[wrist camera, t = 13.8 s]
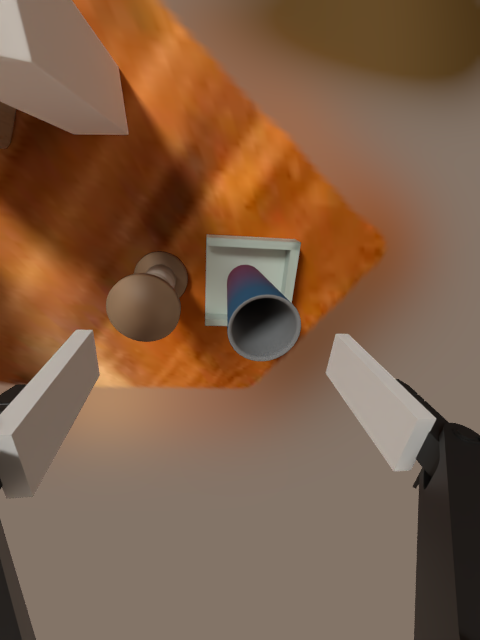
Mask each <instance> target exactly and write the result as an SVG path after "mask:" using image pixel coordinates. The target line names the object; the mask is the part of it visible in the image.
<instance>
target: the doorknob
mask: <svg viewBox="0 0 480 640" xmlns="http://www.w3.org/2000/svg"><path fill="white" fill-rule="evenodd" d="M187 282H188V274H187V270H186V268H185V266H184V264H183V263H182V262H181V261H180V260H179V259H178V258H177V257H176V256H174V255H172V254H170V253H167V252H162V251H157V252H152V253H149V254H147V255H146V256H144V257H143V258H142V259H141V260H140V261H139V262H138V264H137V265H136V267H135V271H134V274H131V275H128V276H126V277H124V278H123V279H121V280H120V281H119V282H117V283H116V284H115V285H114V287H113V288H112V289H111V290H110V292H109V294H108V297H107V300H106V311H107V315H108V317H109V320H110V321H111V323H112V324H113V326H114V327H115V328H116V329H117V330H118V331H119V332H120V333H122V334H123V335H125V336H126V337H128V338H131V339H133V340H137V341H144V342H150V341H156V340H159V339H162V338H164V337H166V336H167V335H169V334H170V333H171V332H172V331H173V330H174V329H175V327H176V325H177V323H178V321H179V317H180V312H181V304H180V299H179V297H181V295H182V294H183V293H184V291H185V289H186V287H187Z"/></svg>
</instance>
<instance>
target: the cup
mask: <svg viewBox="0 0 480 640" xmlns="http://www.w3.org/2000/svg"><path fill="white" fill-rule="evenodd" d="M300 330H301V320H300V316H299V313H298V311H297V309H296V308H295V307H294V305H293V304H292V303H291V302H290V301H289V300H288V299H287V298H286V297H285V296H284V295H283V294H282V293H281V292H280V291H279V290H278V289H277V288H276V287H275V286H274V285H273V284H272V283H271V282H270V281H269V280H268V279H267V278H266V277H265V276H264V275H263V274H262V273H261V272H260V271H259V270H258V269H256V268H255V267H253V266H251V265H240V266H237V267H235V268H234V269H233V270H232V271H231V272H230V274H229V275H228V278H227V332H228V338H229V341H230V344H231V345H232V347H233V348H234V350H235V351H236V352H237V353H238V354H240V355H241V356H243V357H245V358H247V359H250V360H254V361H268V360H272V359H275V358H278V357H280V356H282V355H284V354H285V353H286V352H288V351H289V350H290V349H291V348H292V347H293V346H294V344H295V343H296V341H297V339H298V337H299V334H300Z"/></svg>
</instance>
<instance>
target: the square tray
mask: <svg viewBox="0 0 480 640" xmlns="http://www.w3.org/2000/svg"><path fill="white" fill-rule="evenodd" d="M300 246H301V242H299V241H297V240H295V239H281V238H263V237H245V236H227V235H209V234H207V239H206V302H205V326H227V278H228V275H229V274H230V272H231V271H232V270H233V269H234V268H235V267H237V266H240V265H251V266H253V267H255V268H256V269H258V270H259V271H260V272H261V273H262V274H263V275H264V276H265V277H266V278H267V279H268V280H269V281H270V282H271V283H272V284H273V285H274V286H275V287H276V288H277V289H278V290H279V291H280V292H281V293H282V294H283V295H284V296H285V297H286V298H287V299H288V300H289V301H290V302H291V303H292V297H293V291H294V284H295V278H296V272H297V265H298V259H299V252H300Z"/></svg>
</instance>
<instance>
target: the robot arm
mask: <svg viewBox="0 0 480 640" xmlns="http://www.w3.org/2000/svg"><path fill="white" fill-rule="evenodd" d="M326 374H327V376H328V377H329V379H330V380H331V382H332V383H333V385H334V386H335V387H336V389H337V390H338V392H339V393H340V395H341V396H342V398H343V399H344V400H345V402H346V403H347V405H348V406H349V407H350V409H351V411H352V412H353V413H354V415H355V416H356V417H357V419H358V421H359V422H360V424H361V425H362V426H363V428H364V429H365V431H366V432H367V434H368V435H369V436H370V438H371V439H372V441H373V442H374V444H375V445H376V446H377V448H378V449H379V451H380V452H381V454H382V455H383V456H384V458H385V460H386V461H387V462H388V464H389V465H390V467H391V468H392V470H393V471H407V470H411V469H412V467H413V465H414V463H415V461H416V460H417V461H418V462H419V463H420V465H421V466H422V469H421V472H420V473H419V475H418V477H417V479H416V481H415V483H414V485H413V487H414V488H416V487H417V485H419V505H418V536H417V539H418V540H417V567H416V598H415V629H414V640H480V435H479V434H477V433H476V432H474V431H473V430H471V429H469V428H467V427H465V426H463V425H460V424H456V423H449V422H448V421H446V420H445V419H444V418H443V417H442V416H441V415H440V414H439V413H438V412H437V411H436V410H435V409H434V408H432V407H431V406H430V405H429V404H428V403H427V402H426V401H424V399H423V398H422V397H420V396H419V395H417V393H416V392H415V391H414V390H413V389H412V388H411V387H410V386H409V385H407V384H405V383H404V382H402V381H400V380H399V379H394V377H392V376H391V375H390V374H389V373H388V372H387V371H386V370H385V369H384V368H383V367H382V366H381V365H380V364H379V363H378V362H377V361H376V360H375V359H374V358H373V357H372V356H371V355H369V354H368V353H367V352H366V351H365V350H364V349H363V348H362V347H361V346H360V345H359V344H358V343H357V342H356V341H355V340H354V339H353V338H352V337H351V336H350V335H349V334H336V335H335V339H334V343H333V347H332V351H331V355H330V359H329V362H328V367H327V370H326ZM99 375H100V374H99V368H98V361H97V355H96V348H95V342H94V335H93V330H76V331H75V332H74V333H73V334H72V335H71V336H70V337H69V338H68V340H67V341H66V342H65V343H64V344H63V345H62V346H61V347H60V348H59V350H58V351H57V352H56V353H55V354H54V355H53V356H52V357H51V359H50V360H49V361H48V362H47V363H46V364H45V365H44V366H43V367H42V369H41V370H40V371H39V372H38V373H37V374H36V375H35V376H34V377H33V379H32V380H31V381H30V382H29V383H28V384H27V385H15V386H13V387H12V388H10V389H9V390H7V391H5V392H4V393H2V394H1V395H0V489H1V487H2V488H3V490H4V493H5V495H6V498H21V497H33V496H34V494H35V492H36V490H37V488H38V486H39V485H40V483H41V481H42V479H43V477H44V475H45V474H46V472H47V470H48V468H49V466H50V465H51V463H52V461H53V459H54V457H55V456H56V454H57V452H58V450H59V448H60V446H61V445H62V443H63V441H64V439H65V437H66V436H67V434H68V432H69V430H70V428H71V426H72V425H73V423H74V421H75V419H76V417H77V415H78V413H79V412H80V410H81V408H82V406H83V404H84V403H85V401H86V399H87V397H88V395H89V394H90V392H91V390H92V388H93V386H94V384H95V383H96V381H97V379H98V377H99ZM0 640H36V638H35V635H34V631H33V628H32V625H31V621H30V618H29V615H28V611H27V608H26V605H25V601H24V598H23V595H22V591H21V588H20V584H19V581H18V578H17V574H16V571H15V568H14V564H13V561H12V557H11V554H10V551H9V548H8V544H7V541H6V537H5V534H4V530H3V527H2V524H1V521H0Z"/></svg>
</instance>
